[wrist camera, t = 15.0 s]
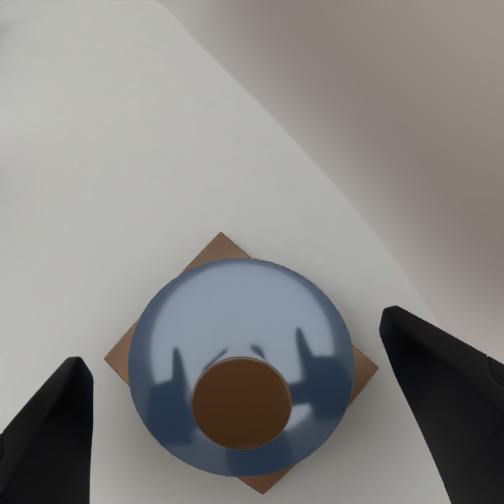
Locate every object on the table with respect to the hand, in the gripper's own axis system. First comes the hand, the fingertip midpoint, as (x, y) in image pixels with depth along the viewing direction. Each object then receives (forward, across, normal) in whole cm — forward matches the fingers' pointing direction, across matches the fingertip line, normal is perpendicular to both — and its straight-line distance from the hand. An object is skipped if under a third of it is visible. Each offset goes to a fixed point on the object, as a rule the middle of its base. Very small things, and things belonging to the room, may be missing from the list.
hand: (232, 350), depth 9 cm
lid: (+4, 0, +6) cm, 8 cm away
